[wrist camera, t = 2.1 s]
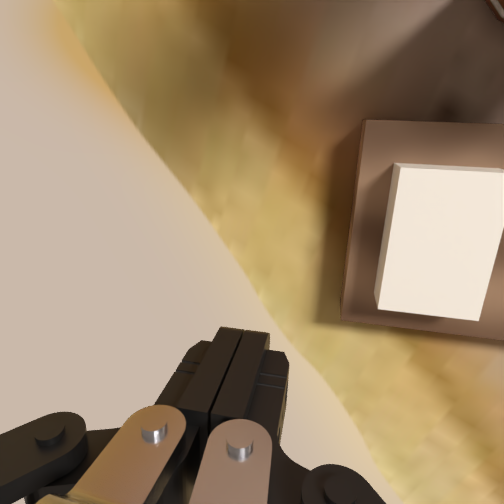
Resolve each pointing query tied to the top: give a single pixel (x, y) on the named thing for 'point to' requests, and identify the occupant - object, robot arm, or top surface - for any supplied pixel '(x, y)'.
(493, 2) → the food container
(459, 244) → the tile
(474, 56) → the top surface
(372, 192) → the brown wooden board
